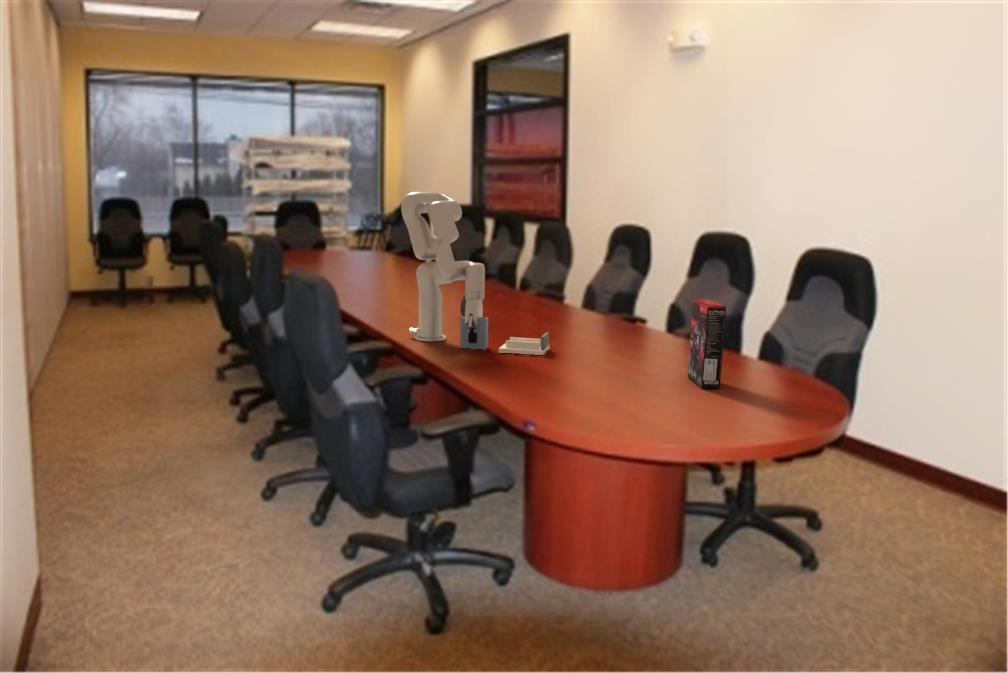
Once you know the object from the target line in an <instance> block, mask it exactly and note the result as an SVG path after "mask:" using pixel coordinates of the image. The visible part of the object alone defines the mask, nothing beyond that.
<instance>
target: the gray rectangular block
mask: <svg viewBox="0 0 1008 673" xmlns="http://www.w3.org/2000/svg"><path fill="white" fill-rule="evenodd" d="M468 322H469V320H468ZM468 324H469V323H467V325H466V324H465V317H463V316H462V317H460V340H459V341H460V347H459V348H470V349H469V350H476V349H486V348H487V347H489V317H483V318H480V319H479V322H478V324H477V325H476V333H477V343H469V342H468V337H469V327H468ZM472 325H475V324H474V323H472ZM473 327H474V326H473ZM487 349H488V348H487ZM487 349H486V350H487Z"/></svg>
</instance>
